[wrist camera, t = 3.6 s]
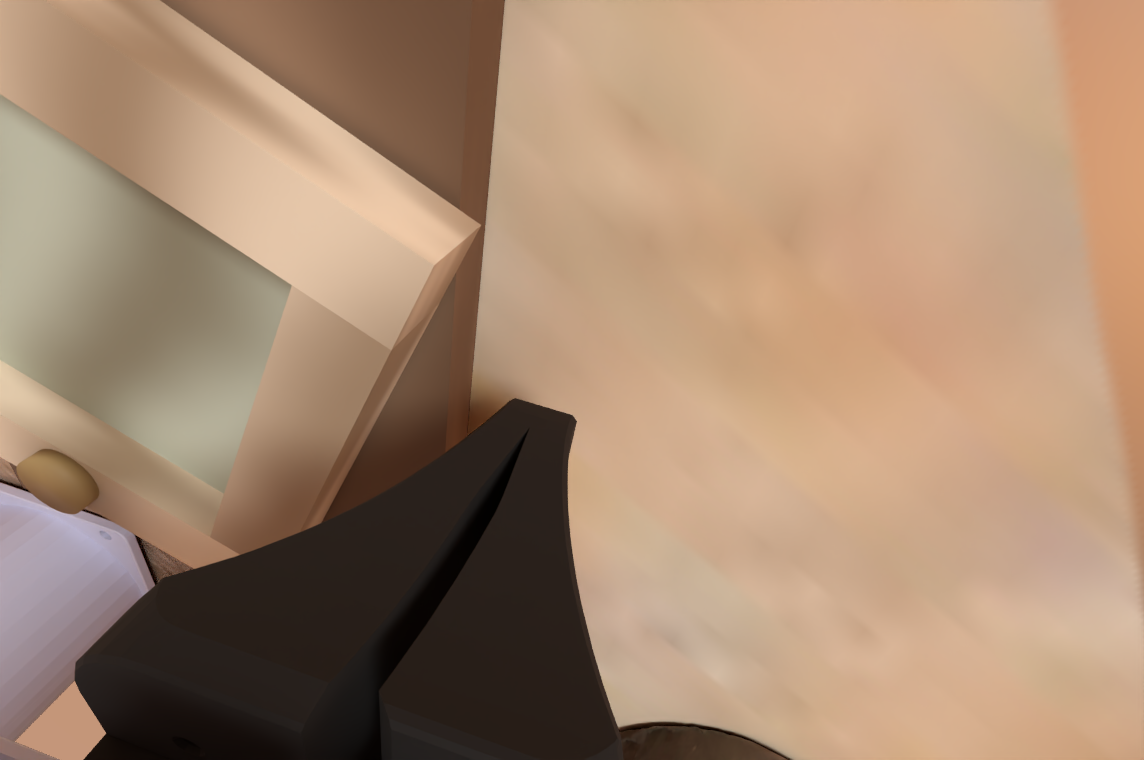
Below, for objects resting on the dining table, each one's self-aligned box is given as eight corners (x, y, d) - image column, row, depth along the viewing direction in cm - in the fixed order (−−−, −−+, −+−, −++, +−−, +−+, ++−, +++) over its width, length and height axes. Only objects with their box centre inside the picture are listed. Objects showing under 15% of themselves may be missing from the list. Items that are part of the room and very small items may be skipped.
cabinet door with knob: (-60, 336, 17) (-170, 383, 15) (-147, -215, 9) (-393, -272, 7) (304, 553, 18) (249, 623, 16) (481, 225, 11) (419, 278, 9)
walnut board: (62, 460, 22) (20, 489, 21) (-283, -281, 11) (-420, -318, 10) (453, 593, 21) (433, 633, 19) (515, -123, 9) (477, -143, 8)
